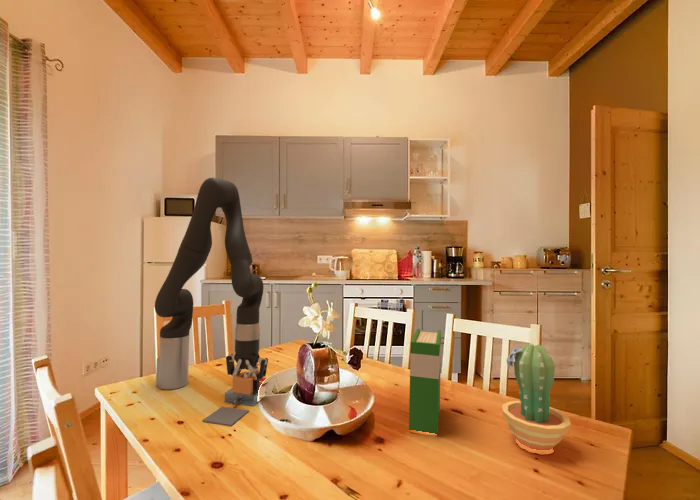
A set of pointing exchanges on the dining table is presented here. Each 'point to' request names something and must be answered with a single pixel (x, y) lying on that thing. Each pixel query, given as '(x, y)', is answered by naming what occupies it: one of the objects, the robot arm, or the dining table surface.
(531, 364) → the potted cactus
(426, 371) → the hardback book
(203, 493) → the dining table surface
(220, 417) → the pad
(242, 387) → the link
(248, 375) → the vise block
